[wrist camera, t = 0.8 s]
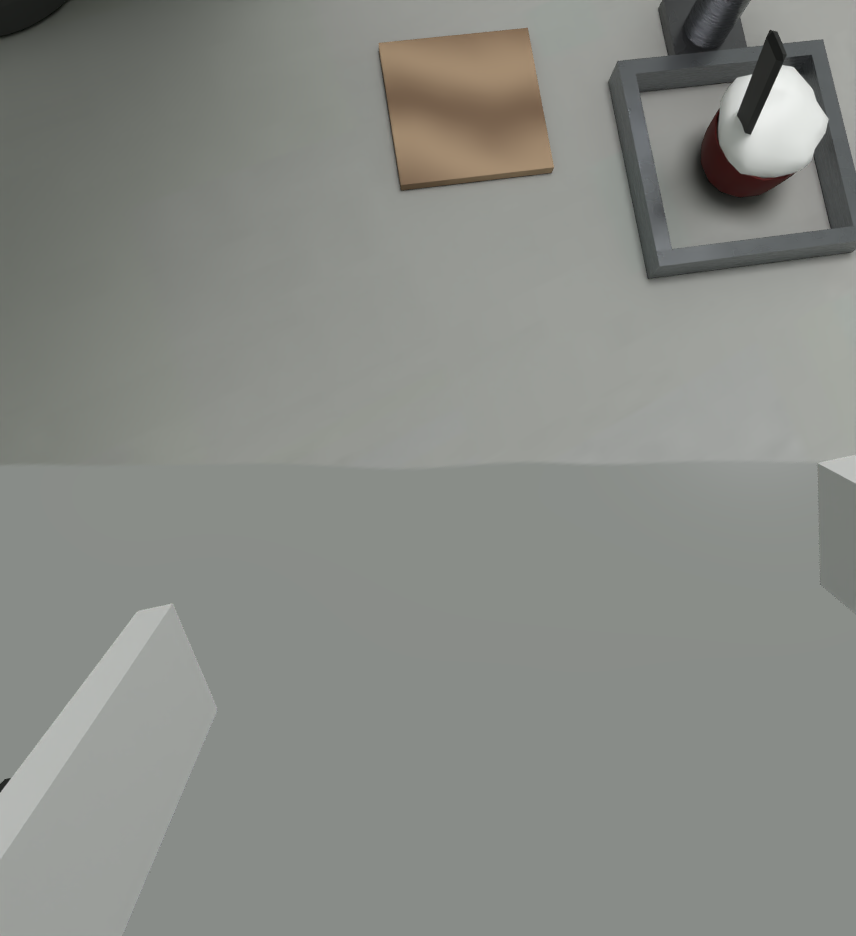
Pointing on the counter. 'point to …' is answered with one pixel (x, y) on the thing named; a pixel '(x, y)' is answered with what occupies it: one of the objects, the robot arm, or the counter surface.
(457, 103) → the walnut coaster
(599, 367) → the counter surface
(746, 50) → the ring stand
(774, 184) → the cocoa
